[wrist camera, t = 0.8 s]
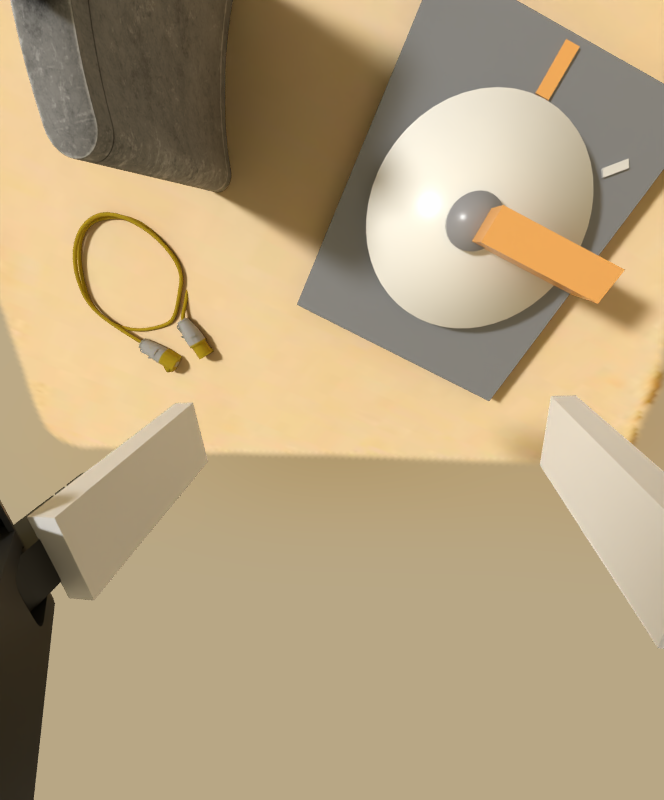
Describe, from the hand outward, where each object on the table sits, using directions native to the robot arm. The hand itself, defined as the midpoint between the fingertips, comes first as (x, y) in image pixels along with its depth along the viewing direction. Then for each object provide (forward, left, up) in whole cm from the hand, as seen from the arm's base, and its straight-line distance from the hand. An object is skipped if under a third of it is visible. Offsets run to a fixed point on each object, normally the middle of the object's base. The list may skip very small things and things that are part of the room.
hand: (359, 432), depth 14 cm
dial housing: (-10, +3, -23) cm, 25 cm away
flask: (-10, -20, -23) cm, 32 cm away
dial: (-10, +4, -21) cm, 23 cm away
